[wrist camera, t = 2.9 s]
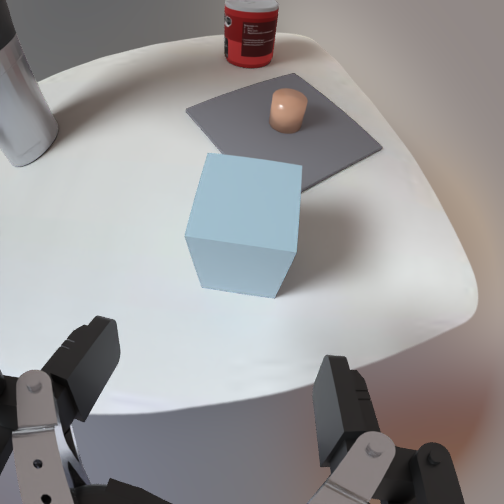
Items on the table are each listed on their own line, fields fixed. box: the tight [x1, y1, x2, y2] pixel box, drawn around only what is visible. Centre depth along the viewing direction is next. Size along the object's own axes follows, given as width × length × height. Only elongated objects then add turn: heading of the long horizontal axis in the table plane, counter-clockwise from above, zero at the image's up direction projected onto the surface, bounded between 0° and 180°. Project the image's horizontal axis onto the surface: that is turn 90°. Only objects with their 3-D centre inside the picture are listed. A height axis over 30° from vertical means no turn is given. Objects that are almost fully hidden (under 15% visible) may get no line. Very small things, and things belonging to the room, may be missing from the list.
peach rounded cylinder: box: [269, 88, 308, 134], centre depth 32 cm, size 4×4×4 cm
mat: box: [186, 73, 382, 192], centre depth 34 cm, size 18×18×1 cm
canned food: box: [224, 0, 279, 68], centre depth 36 cm, size 8×8×11 cm
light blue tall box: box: [185, 153, 302, 298], centre depth 23 cm, size 6×6×10 cm
